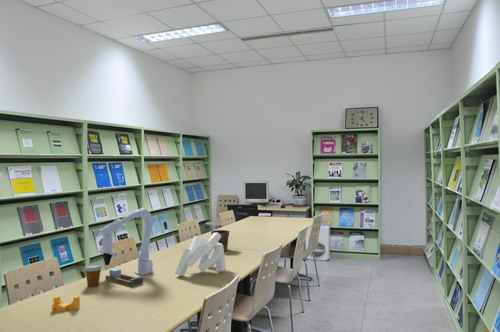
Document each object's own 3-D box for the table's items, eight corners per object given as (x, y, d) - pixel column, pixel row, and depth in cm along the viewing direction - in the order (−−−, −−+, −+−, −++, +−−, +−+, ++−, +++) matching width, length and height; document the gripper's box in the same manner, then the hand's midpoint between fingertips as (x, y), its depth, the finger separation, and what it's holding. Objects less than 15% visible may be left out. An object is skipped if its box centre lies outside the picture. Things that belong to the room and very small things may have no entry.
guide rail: (116, 276, 253) (116, 270, 253) (143, 282, 239) (143, 276, 239) (105, 279, 246) (105, 273, 246) (131, 286, 232) (131, 280, 232)
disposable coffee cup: (83, 288, 228) (83, 268, 228) (85, 283, 237) (85, 264, 237) (100, 287, 230) (100, 267, 230) (102, 282, 240) (102, 263, 240)
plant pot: (208, 249, 334) (208, 230, 334) (225, 247, 341) (225, 229, 341) (214, 253, 319) (214, 233, 319) (232, 251, 326) (232, 232, 326)
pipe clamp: (52, 311, 193) (52, 298, 193) (55, 308, 197) (55, 295, 197) (76, 311, 194) (76, 298, 194) (79, 308, 198) (79, 295, 198)
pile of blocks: (197, 291, 239) (223, 241, 241) (164, 267, 253) (189, 220, 255) (222, 290, 270) (245, 246, 272) (191, 268, 284) (214, 226, 286)
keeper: (116, 277, 251) (116, 268, 251) (120, 278, 248) (121, 269, 248) (109, 279, 246) (109, 269, 246) (114, 280, 244) (114, 271, 244)
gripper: (95, 243, 252) (95, 264, 252) (109, 246, 244) (109, 267, 244) (104, 242, 258) (104, 262, 258) (118, 244, 250) (118, 265, 250)
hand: (107, 264), depth 251 cm, fingers closed
